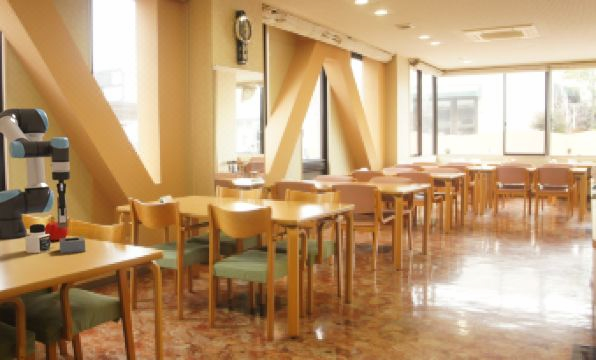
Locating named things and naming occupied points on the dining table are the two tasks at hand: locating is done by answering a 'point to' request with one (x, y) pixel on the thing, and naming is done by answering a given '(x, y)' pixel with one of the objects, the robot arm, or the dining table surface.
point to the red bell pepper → (55, 231)
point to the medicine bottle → (37, 239)
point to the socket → (72, 245)
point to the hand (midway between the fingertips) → (62, 221)
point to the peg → (60, 225)
